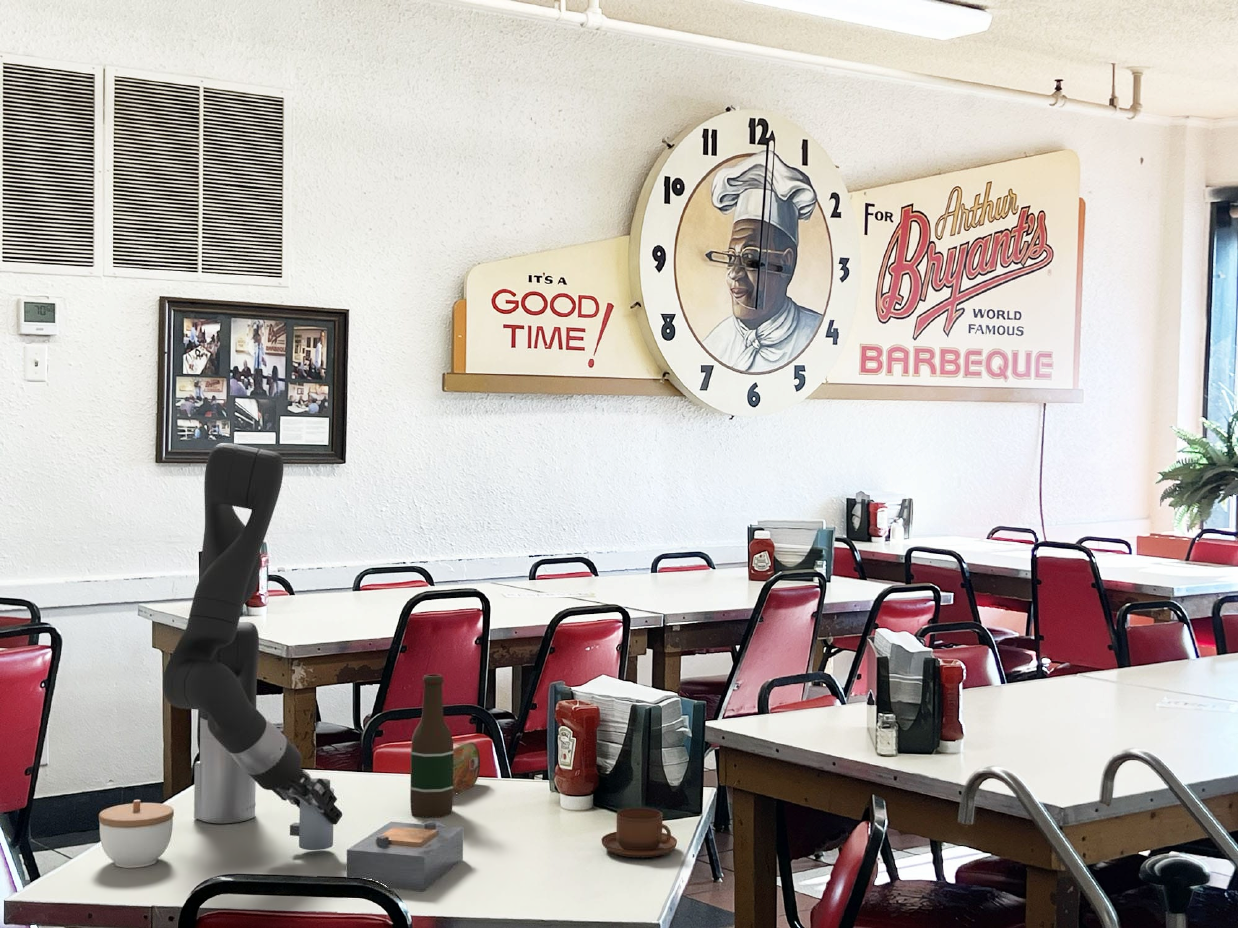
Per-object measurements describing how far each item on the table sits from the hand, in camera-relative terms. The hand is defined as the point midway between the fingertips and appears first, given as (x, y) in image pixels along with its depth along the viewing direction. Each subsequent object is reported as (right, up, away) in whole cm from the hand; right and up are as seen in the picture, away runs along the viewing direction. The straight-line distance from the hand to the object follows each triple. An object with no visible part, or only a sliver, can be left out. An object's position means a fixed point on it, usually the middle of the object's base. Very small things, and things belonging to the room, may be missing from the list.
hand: (325, 815), depth 216 cm
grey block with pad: (+15, -6, -8) cm, 18 cm away
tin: (+16, -6, +40) cm, 43 cm away
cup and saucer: (+49, -7, +2) cm, 50 cm away
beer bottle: (+13, -6, +24) cm, 28 cm away
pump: (-1, -4, -1) cm, 5 cm away
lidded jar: (-27, -5, -8) cm, 29 cm away
